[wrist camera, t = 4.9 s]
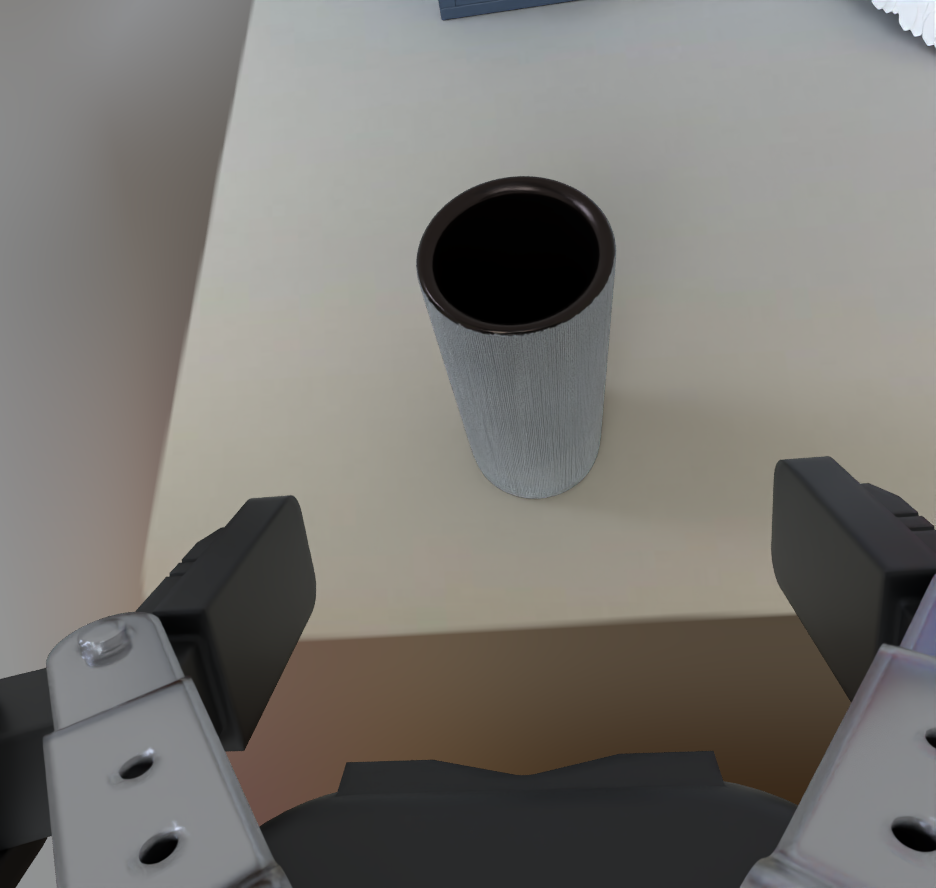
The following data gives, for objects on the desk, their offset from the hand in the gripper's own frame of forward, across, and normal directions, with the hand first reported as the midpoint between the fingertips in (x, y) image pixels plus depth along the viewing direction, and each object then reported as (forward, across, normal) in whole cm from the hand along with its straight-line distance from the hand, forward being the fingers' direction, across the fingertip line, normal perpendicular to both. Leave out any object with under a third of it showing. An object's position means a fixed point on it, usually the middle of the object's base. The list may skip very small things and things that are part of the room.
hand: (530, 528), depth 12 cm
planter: (+13, 0, +3) cm, 14 cm away
